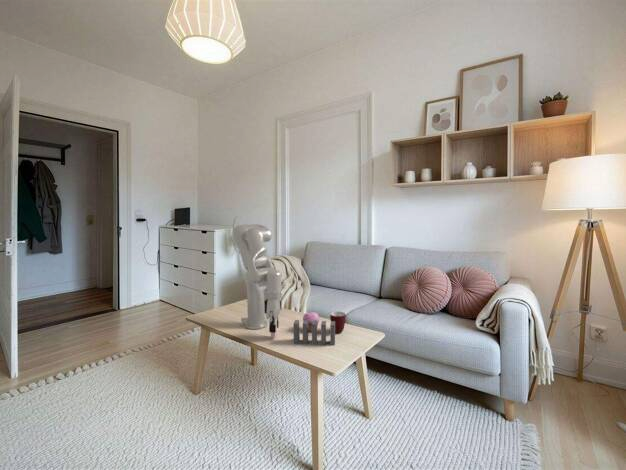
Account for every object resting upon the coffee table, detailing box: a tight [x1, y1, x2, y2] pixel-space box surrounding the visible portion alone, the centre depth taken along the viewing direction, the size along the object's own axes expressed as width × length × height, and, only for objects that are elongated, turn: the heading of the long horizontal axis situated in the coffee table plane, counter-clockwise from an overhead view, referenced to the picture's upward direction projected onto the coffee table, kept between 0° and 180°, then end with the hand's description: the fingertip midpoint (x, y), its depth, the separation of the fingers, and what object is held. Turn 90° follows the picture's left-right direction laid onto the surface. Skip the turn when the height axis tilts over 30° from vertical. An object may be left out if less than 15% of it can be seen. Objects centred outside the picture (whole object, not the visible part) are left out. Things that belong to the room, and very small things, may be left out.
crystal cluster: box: [264, 298, 283, 314], centre depth 200 cm, size 13×14×10 cm
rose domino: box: [270, 317, 278, 339], centre depth 156 cm, size 2×5×10 cm, turn 173°
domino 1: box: [293, 319, 300, 345], centre depth 152 cm, size 2×5×10 cm, turn 173°
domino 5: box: [329, 320, 336, 346], centre depth 150 cm, size 2×5×10 cm, turn 173°
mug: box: [329, 311, 347, 335], centre depth 164 cm, size 11×8×10 cm
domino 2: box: [302, 320, 309, 345], centre depth 151 cm, size 2×5×10 cm, turn 173°
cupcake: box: [302, 311, 320, 333], centre depth 166 cm, size 9×9×10 cm
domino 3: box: [311, 321, 318, 346], centre depth 151 cm, size 2×5×10 cm, turn 173°
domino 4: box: [320, 320, 327, 346], centre depth 150 cm, size 2×5×10 cm, turn 173°
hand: (273, 329), depth 156 cm, fingers closed on rose domino, 4 cm apart
